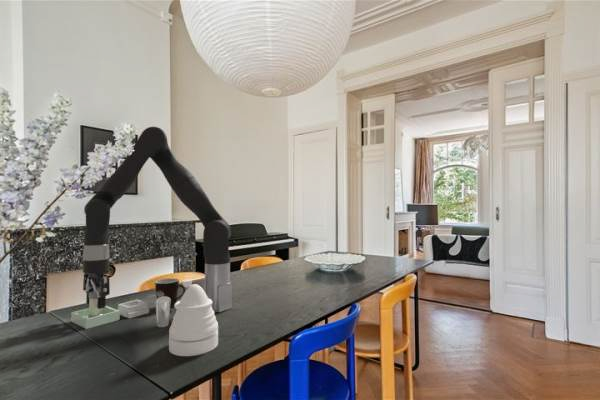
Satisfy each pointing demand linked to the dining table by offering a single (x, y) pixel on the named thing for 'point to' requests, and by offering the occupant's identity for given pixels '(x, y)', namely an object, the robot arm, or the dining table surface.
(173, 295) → the coffee mug
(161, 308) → the milkshake
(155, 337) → the dining table surface
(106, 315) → the tray
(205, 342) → the honey pot
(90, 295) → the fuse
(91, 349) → the dining table surface
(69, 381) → the dining table surface
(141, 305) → the holder
